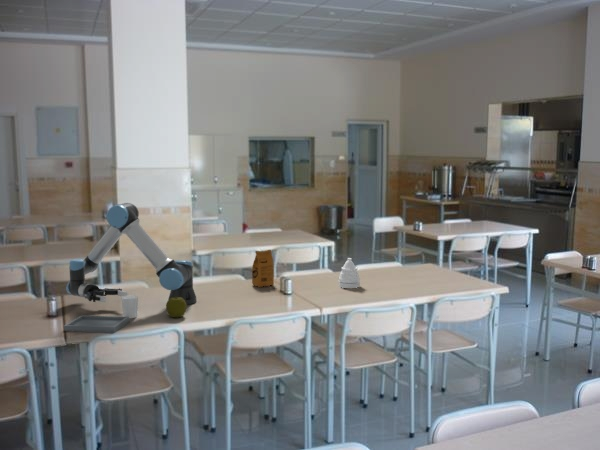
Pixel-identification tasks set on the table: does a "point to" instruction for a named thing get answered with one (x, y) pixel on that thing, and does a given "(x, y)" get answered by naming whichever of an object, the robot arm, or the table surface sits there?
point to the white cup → (130, 306)
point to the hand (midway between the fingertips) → (116, 297)
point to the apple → (176, 307)
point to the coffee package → (263, 269)
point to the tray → (96, 323)
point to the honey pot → (349, 275)
